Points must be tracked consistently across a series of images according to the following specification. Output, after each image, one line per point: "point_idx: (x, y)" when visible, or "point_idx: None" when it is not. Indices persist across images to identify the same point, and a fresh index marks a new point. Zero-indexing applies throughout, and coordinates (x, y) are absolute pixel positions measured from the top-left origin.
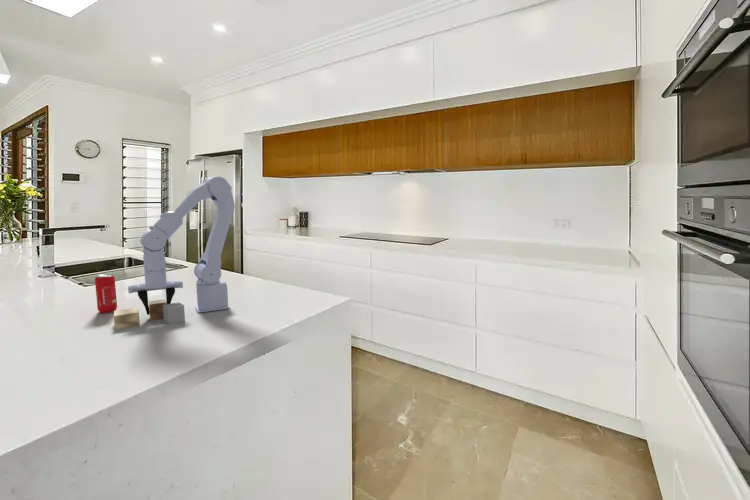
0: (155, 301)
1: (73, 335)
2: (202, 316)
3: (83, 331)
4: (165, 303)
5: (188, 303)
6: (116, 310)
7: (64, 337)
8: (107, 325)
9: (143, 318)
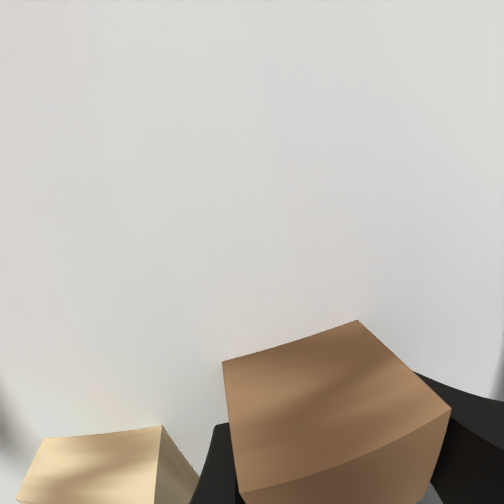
0: (335, 498)
1: (13, 499)
2: (500, 379)
3: (6, 480)
4: (414, 495)
5: (447, 20)
6: (25, 502)
7: (4, 500)
8: (34, 456)
9: (183, 405)
